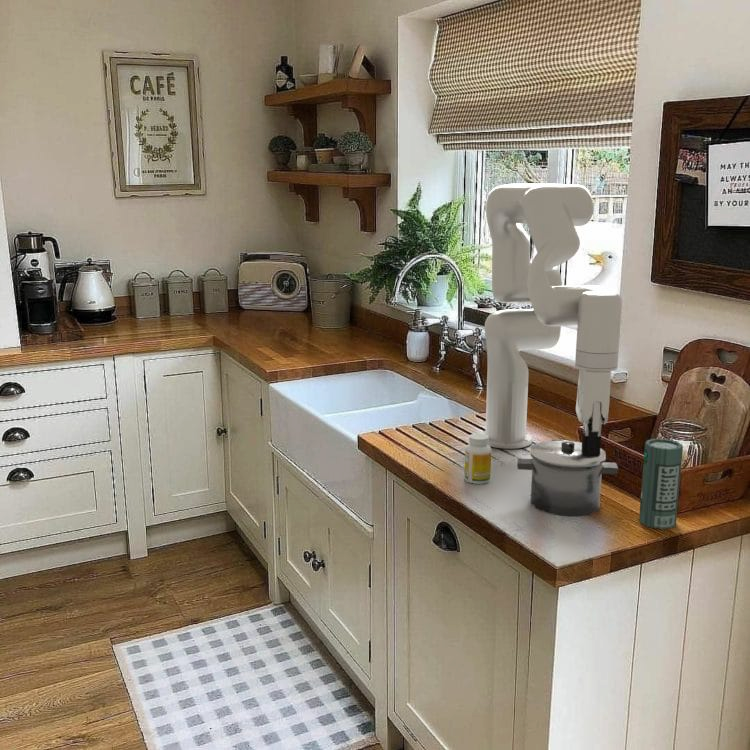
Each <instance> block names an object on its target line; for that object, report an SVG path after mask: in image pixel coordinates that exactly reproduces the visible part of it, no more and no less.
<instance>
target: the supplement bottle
mask: <svg viewBox="0 0 750 750" xmlns="http://www.w3.org/2000/svg"><path fill="white" fill-rule="evenodd" d="M480 433H481V432H480ZM480 433H479V432H478V433H471V434H469V436H468V437H469V438H468V442H469V443H468V444H467V445H466V446H465V453H464V456H465V457H464V480H465V481H466V482H467V483H469V484H472V483H473V484H474V485H484V484H488V483H489V482H490V480H491V473H492V448H491V446H489V445H487V444H488V443H489V436H488V435H486V434H480Z"/></svg>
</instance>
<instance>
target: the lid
mask: <svg viewBox="0 0 750 750" xmlns="http://www.w3.org/2000/svg"><path fill="white" fill-rule="evenodd" d="M529 451H530V453H529V454H530V457H531V459H533V458H534V459H535V460H537V461H539V462H542V463H545V464H549V465H554V466H561V467H591V466H596V465H599V464H601V463H603V462H606V459H607V458H606V456H607V455H606V451H605V450H604V449H603V448H601V447H600V456H599V457H595V456H583V455H582V441H578V440H568V439H567V440H565V439H551V440H549V441H548V440H547V441H541V442H537V443H535V444H533V445H531V447H530V450H529Z"/></svg>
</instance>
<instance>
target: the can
mask: <svg viewBox="0 0 750 750" xmlns="http://www.w3.org/2000/svg"><path fill="white" fill-rule="evenodd" d="M683 449H684V445H683V444H682V443H680V442H678V441H675V440H672V439H667V438H650V439H647V440H646V441H645V442H644V453H643V454H644V455H643V467H642V476H641V477H642V478H641V479H642V480H641V490H640V501H639V502H640V503H639V504H640V505H639V515H638V516H639V517H638V519H639V520H638V521H639V523H640V524H642V525H643V526H646V525H647V526H646V527H647V528H651V529H654V528H655V529H656V528H657V529H658V528H659V530H667V529H666V528H671V527H673V528H674V527H676V525H677V513H678V505H679V493H680V484H681V483H680V481H681V473H682V471H681V470H682V462H683Z"/></svg>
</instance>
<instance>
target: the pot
mask: <svg viewBox="0 0 750 750" xmlns="http://www.w3.org/2000/svg"><path fill="white" fill-rule="evenodd" d="M516 461H517V470H520V471H521V470H524V471H531V485H530V487H531V488H530V504H531V505H532V506H533V507H534V508H535V509H538V510H540V511H541V512H545V513H547V514H550V515H556V516H561V517H562V516H564V517H581V516H582V517H583V516H588V515H592V514H594V513H596V512H597V511H599V509H600V504H601V488H602V476H603V475H602V474H605V475H606V474H608V475H619V466H618V464H617V462H607V461H604V462H603V463H601V464H599V465H596V466H591V467H561V466H554V465H549V464H545V463H542V462H539V461H537V460H535V459H534V458H517V460H516Z"/></svg>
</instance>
